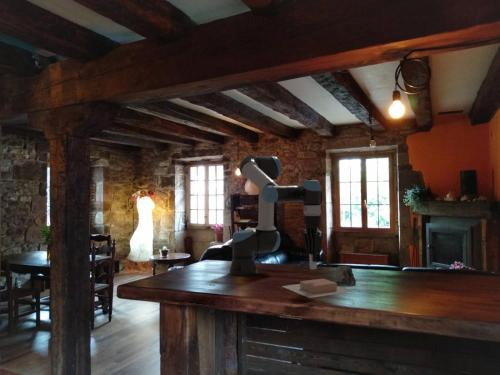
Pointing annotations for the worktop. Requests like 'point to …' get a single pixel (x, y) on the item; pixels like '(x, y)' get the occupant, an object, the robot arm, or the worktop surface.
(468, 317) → the worktop surface
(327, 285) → the picture frame
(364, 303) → the worktop surface
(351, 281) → the stone
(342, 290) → the board
